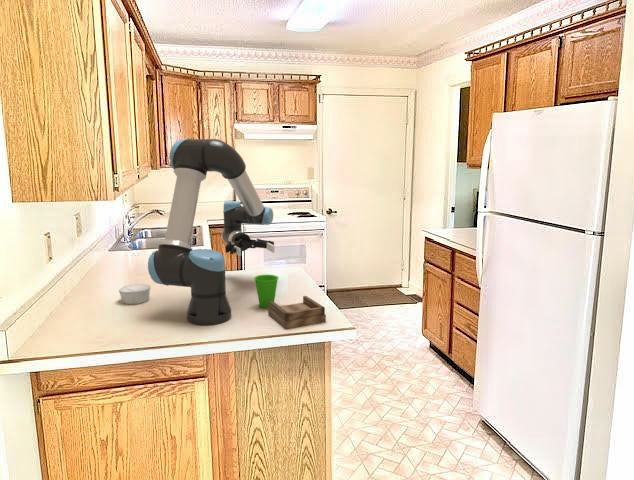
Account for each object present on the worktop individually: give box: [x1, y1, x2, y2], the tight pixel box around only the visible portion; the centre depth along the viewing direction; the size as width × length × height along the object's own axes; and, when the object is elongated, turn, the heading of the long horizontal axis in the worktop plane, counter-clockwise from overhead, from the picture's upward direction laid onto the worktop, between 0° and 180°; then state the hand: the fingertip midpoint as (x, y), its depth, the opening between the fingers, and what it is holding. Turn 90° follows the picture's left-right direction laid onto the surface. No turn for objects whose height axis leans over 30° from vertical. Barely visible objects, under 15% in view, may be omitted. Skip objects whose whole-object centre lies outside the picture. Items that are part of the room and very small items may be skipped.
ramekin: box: [118, 283, 151, 305], centre depth 179 cm, size 11×11×5 cm
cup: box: [253, 274, 279, 309], centre depth 173 cm, size 9×9×11 cm
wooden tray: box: [267, 295, 327, 330], centre depth 161 cm, size 15×15×5 cm
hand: (257, 250), depth 179 cm, fingers open, 13 cm apart
